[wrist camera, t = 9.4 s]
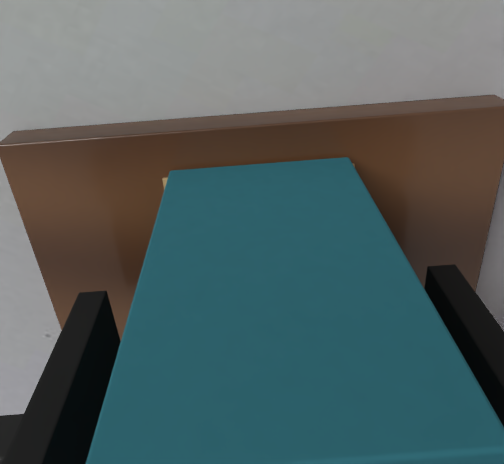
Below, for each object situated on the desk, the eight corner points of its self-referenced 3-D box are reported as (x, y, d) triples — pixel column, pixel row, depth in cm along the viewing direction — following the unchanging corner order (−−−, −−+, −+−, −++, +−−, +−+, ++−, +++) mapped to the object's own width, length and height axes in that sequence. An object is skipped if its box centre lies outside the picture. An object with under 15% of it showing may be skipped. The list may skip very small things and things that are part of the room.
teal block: (169, 169, 13) (78, 481, 5) (349, 156, 13) (520, 449, 5) (203, 374, 17) (179, 720, 9) (340, 364, 17) (431, 702, 9)
